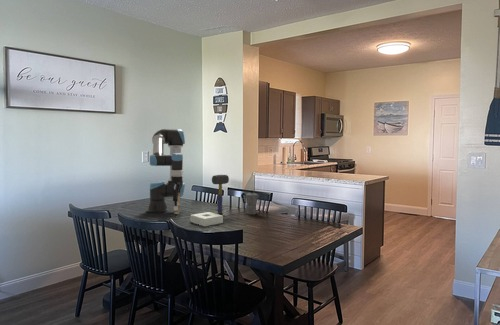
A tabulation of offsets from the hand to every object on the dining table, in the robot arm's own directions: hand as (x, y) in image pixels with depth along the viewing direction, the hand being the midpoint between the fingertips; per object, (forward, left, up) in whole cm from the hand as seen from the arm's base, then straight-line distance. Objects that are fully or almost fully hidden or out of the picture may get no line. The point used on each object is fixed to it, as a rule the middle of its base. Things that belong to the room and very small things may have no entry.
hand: (176, 209), depth 254 cm
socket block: (+13, +16, -9) cm, 23 cm away
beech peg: (0, 0, -3) cm, 3 cm away
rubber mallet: (-6, +43, -9) cm, 44 cm away
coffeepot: (+9, +61, -9) cm, 62 cm away
